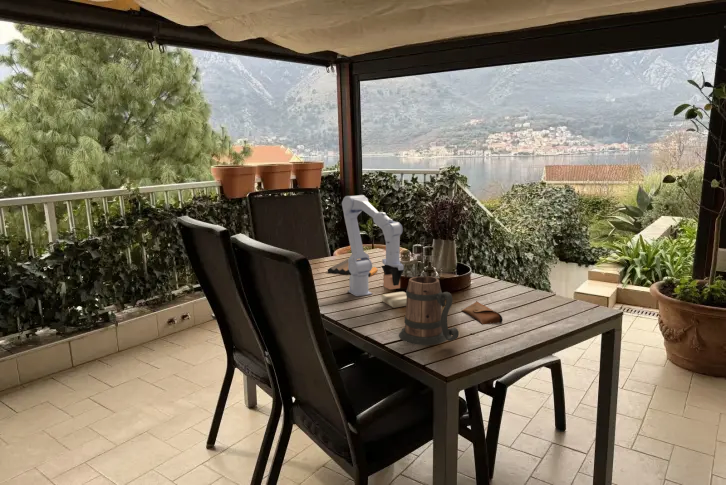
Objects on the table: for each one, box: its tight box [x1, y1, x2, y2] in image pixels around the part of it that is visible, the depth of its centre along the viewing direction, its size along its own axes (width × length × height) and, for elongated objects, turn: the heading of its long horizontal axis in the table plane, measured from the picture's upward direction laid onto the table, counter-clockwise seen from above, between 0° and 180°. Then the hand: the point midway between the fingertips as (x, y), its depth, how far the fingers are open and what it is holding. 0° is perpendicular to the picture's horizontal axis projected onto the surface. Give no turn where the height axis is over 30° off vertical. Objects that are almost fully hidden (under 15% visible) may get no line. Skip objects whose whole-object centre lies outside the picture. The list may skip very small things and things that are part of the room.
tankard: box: [398, 276, 460, 346], centre depth 163 cm, size 24×17×20 cm
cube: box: [383, 274, 401, 290], centre depth 203 cm, size 5×5×5 cm
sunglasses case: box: [460, 300, 503, 325], centre depth 187 cm, size 18×7×7 cm
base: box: [381, 290, 407, 309], centre depth 205 cm, size 10×10×3 cm
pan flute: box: [327, 258, 379, 277], centre depth 266 cm, size 25×3×25 cm
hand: (392, 283), depth 203 cm, fingers closed on cube, 5 cm apart
